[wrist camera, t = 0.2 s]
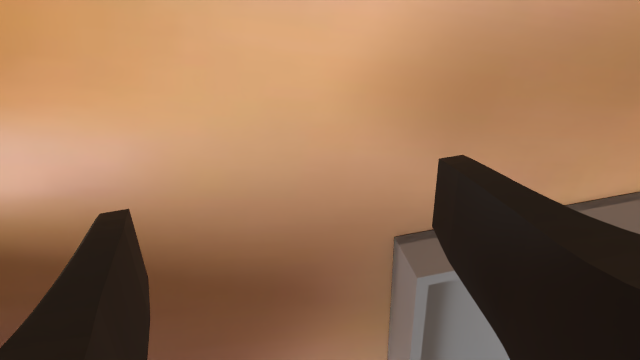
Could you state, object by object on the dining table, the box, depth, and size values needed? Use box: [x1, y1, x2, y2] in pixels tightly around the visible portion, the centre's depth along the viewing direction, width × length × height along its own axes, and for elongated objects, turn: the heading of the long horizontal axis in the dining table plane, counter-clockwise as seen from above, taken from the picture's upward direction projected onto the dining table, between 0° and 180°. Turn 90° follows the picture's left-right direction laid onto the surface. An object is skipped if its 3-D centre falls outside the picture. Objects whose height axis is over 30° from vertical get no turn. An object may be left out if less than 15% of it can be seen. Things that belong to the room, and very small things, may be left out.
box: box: [387, 192, 640, 360], centre depth 33 cm, size 16×22×3 cm
